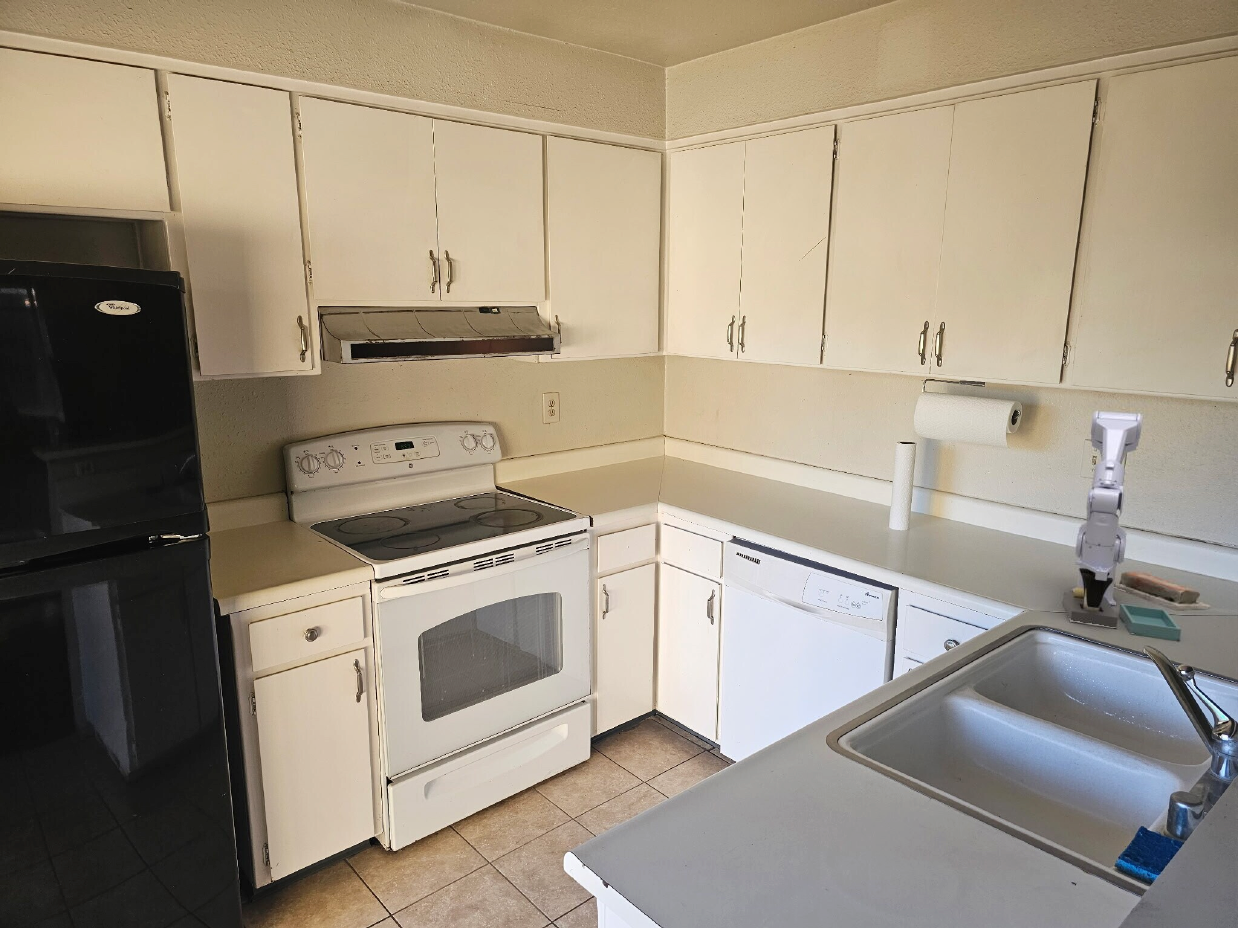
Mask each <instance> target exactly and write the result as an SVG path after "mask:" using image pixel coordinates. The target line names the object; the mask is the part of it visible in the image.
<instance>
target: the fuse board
mask: <svg viewBox="0 0 1238 928" xmlns="http://www.w3.org/2000/svg"><path fill="white" fill-rule="evenodd" d="M1073 588H1074V593H1073V592H1068V591H1063V594H1062V604H1063V607H1064V610H1065V612H1067V613H1066V615H1067V614H1068V615H1067V617H1068V616H1069V618H1070V619H1071V620H1073V621H1080V622H1083V623H1092V624H1099V625H1104V626H1109V627H1116V629H1117V628H1118V626H1117V625H1118V622H1119V621H1118V619H1119V617H1118V615H1117V614H1116V612H1115V610H1114V609H1113V607H1112V605H1110V604H1109V602H1108V600H1107V598H1106V597H1103V599H1102V601H1101V604H1100V608H1099V611H1093V610H1086V609H1083V606H1084V589H1082V588H1077V587H1073ZM1069 618H1068V619H1069Z"/></svg>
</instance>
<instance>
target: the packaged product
mask: <svg viewBox="0 0 1238 928" xmlns="http://www.w3.org/2000/svg"><path fill="white" fill-rule="evenodd" d="M1114 587H1117V588H1118V589H1122V590H1125V591H1126V592H1129V593H1130V595H1131V594H1133V596H1134V595H1135V597H1137V598H1140V599H1143V600H1144V601H1145V600H1146V601H1148V602H1151V603H1154V604H1156V605H1159V606H1163V607H1165V608H1168V609H1171V610H1173V611H1174V610H1175V611H1193V610H1194V609H1198V610H1210V609H1211V605H1210V604H1208V603H1207V604H1206V603H1204V602H1201V601H1197V600H1198V598H1199V597H1200V595H1201V593H1200V592H1199V591H1197V590H1195V589H1192V588H1189V587H1187V586H1183V585H1181V584H1177V583H1174V582H1173V581H1169V580H1165V579H1164V578H1160V577H1158V576H1155V575H1151V574H1148V573H1146V572H1143V571H1128V572H1127V571H1125V572H1121V574H1120V580H1119V583H1116V582H1114ZM1118 589H1117V590H1118ZM1126 592H1125V593H1126ZM1129 593H1128V594H1129Z"/></svg>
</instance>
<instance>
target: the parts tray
mask: <svg viewBox="0 0 1238 928" xmlns="http://www.w3.org/2000/svg"><path fill="white" fill-rule="evenodd" d="M1118 615H1120V616H1121V617H1120V616H1119V617H1120V619H1121V618H1122V619H1123V621H1124V622H1123V621H1122V622H1123V624H1124V623H1125V624H1126V626H1127V627H1128V629H1129V631H1130V632H1129V631H1128V632H1129V633H1134V634H1136V635H1135V636H1143V637H1148V638H1155V639H1160V640H1161V639H1163V640H1169V641H1176V642H1180V640H1181V633H1182V628H1181V627H1180V626H1179V625H1178V624H1177V622H1176V621H1175V620H1174V619H1173V617H1172V616H1171V615H1170V614H1169V612H1168V611H1167V610H1166V609H1160V608H1155V607H1154V608H1152V607H1145V606H1141V605H1140V606H1138V605H1132V604H1124V603H1120V604H1119V611H1118ZM1122 619H1121V620H1122ZM1125 624H1124V625H1125ZM1126 626H1125V627H1126ZM1127 627H1126V628H1127ZM1128 629H1127V630H1128ZM1134 634H1133V635H1134Z"/></svg>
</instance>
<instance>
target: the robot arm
mask: <svg viewBox="0 0 1238 928" xmlns="http://www.w3.org/2000/svg"><path fill="white" fill-rule="evenodd" d="M1143 418H1144V416H1143V414H1141V413H1130V412H1129V413H1126V412H1113V411H1100V410H1095V411H1094V412H1093V414H1092V418H1091V419H1092V421H1091V428H1090V435H1091V437H1090V442H1091V447H1093V448H1095V449H1097V450H1099V454H1100V457H1101V461H1100V462H1098V463H1097V464H1096V465H1095V466H1094V470H1093V471H1094V472H1093V476H1092V481H1091V482H1092V484H1091V488H1089V490H1088V492H1087V497H1086V499H1087V500H1086V522H1084V523H1082V524H1081V525H1080V527H1079V528H1078V533H1077V538H1076V543H1075V544H1076V545H1075V551H1074V552H1075V556H1076V557H1077V559H1076V560H1075V562H1074V563H1075V565H1077V566H1079V569H1078V570H1079V571H1078V578H1077V584H1076V585H1077V586H1076V588H1082V589H1084V598H1085V590H1086V600H1087V606H1088V607H1094V608H1099V606H1100V604H1101V601H1102V599H1103V597H1106V598H1107V600H1108V602H1109V604H1110V605H1111V606H1117V602H1116V601H1115V600H1114V599H1115V598H1113V594H1114V588H1113V587H1114V584H1115V579H1116V578H1115V577H1116V572H1117V566H1118V564H1119V565H1121V564H1122V563H1124V561H1125V560H1124V559H1125V553H1126V545H1127V532H1126V530H1125V529H1124V528H1123V527H1122V526H1121V525H1120V524H1119V522H1120V521H1119V520H1120V518H1119V517H1121V516H1122V513H1123V506H1124V499H1125V492H1124V491H1125V490H1124V487H1125V486H1124V483H1125V475H1126V468H1125V466H1124V465H1123V462H1124V459H1125V457H1126V455H1127V453H1131V452H1133V451H1136V450H1137V447H1138V446H1139V442H1140V438H1141V433H1142V425H1143ZM1118 511H1119V516H1118V514H1117V512H1118ZM1078 558H1079V559H1078ZM1074 588H1075V587H1073V588H1071V590H1072V593H1074Z"/></svg>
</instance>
